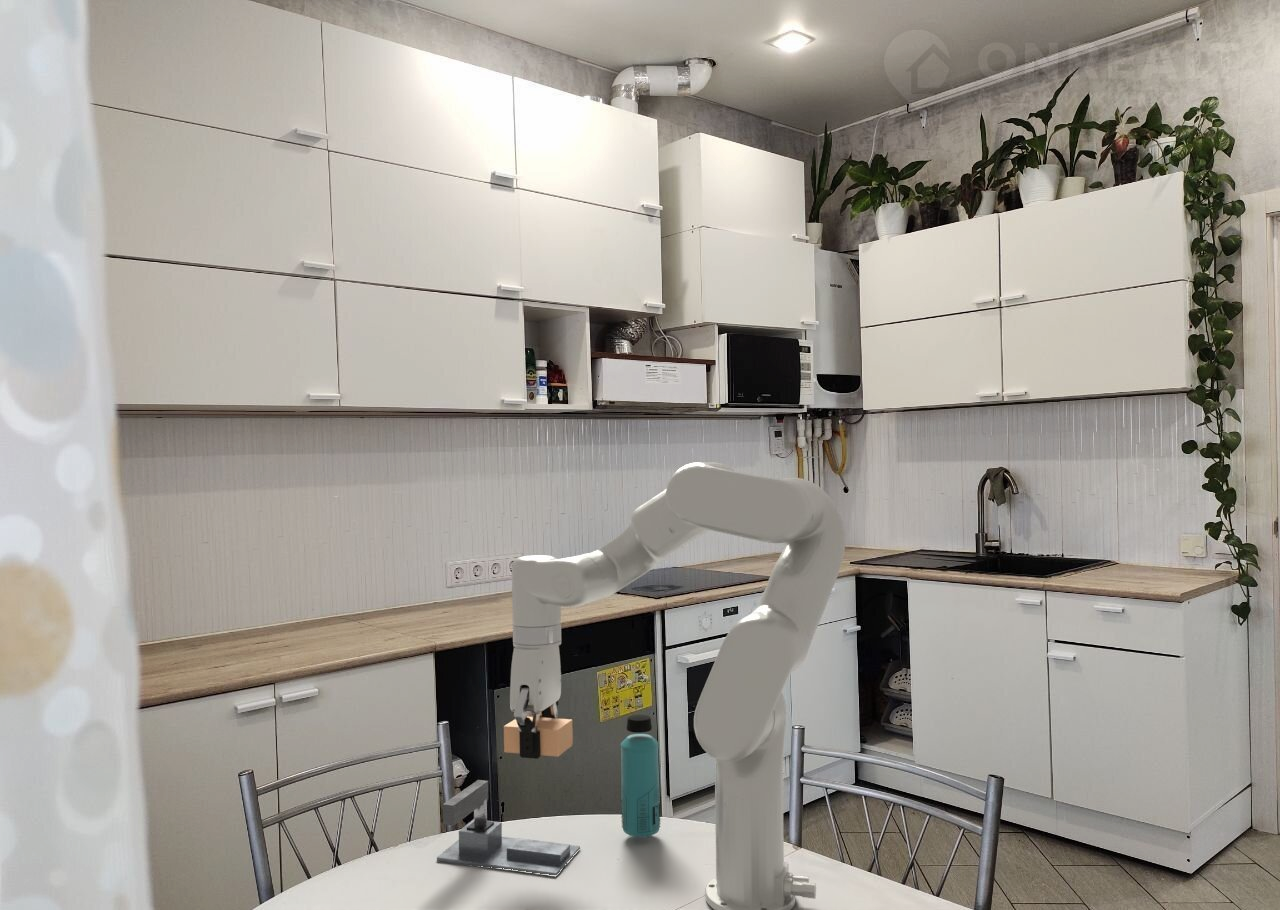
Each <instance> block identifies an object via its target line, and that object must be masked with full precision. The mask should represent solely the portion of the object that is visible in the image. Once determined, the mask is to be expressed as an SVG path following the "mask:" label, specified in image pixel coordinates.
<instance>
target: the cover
mask: <svg viewBox="0 0 1280 910" xmlns="http://www.w3.org/2000/svg"><path fill="white" fill-rule="evenodd" d="M527 717H529V718H530V720H531V721H533V716H529V715H527ZM573 728H574V727H573V719H567V718H558V717H557V718H543V717H540V716H539V723H538V730H537V731H540V756H546V757H547V756H548V757H560V756H561V755H562V754H563V753H564V752H566V751H567V750H568V749H570V748H571V747H572V746H574V744H573V743H574V735H573V733H574V732H573ZM503 747H504V748H503V750H504V751H503V752H504V753H509V754H511V753H512V754H520V735H519V731H518V724H517V721H516V719H515V718H514V719H513V720H512V721H510V722H508V723H507V724H505V725H503Z"/></svg>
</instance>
